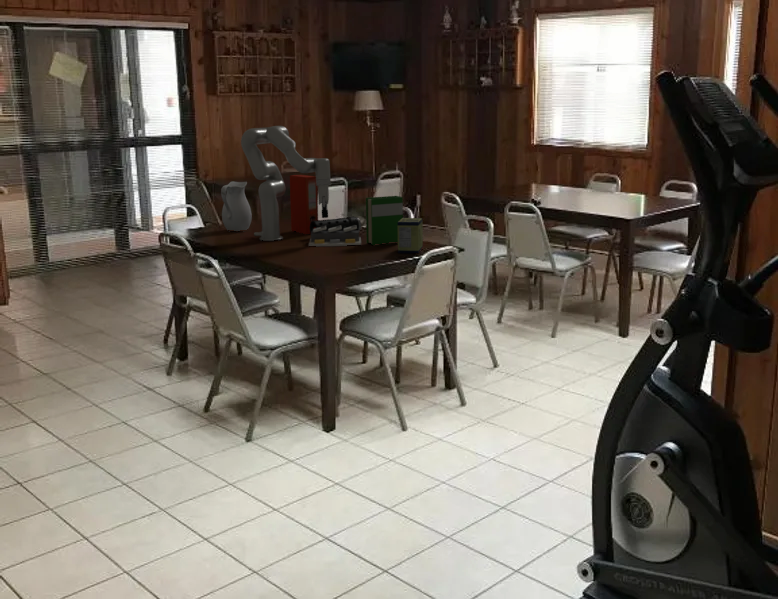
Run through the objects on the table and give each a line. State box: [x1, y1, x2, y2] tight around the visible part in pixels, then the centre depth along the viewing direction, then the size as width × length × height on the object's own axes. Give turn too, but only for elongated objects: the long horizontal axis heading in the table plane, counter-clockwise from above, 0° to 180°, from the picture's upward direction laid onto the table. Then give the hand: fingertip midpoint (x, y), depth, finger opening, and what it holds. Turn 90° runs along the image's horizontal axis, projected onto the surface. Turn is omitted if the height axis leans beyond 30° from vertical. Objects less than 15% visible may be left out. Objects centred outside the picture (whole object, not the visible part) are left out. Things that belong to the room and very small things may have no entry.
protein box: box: [397, 217, 424, 254], centre depth 419 cm, size 10×16×16 cm
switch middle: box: [328, 225, 342, 232], centre depth 445 cm, size 7×6×1 cm
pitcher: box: [220, 181, 253, 231], centre depth 485 cm, size 24×17×28 cm
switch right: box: [344, 225, 357, 232], centre depth 446 cm, size 7×6×1 cm
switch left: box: [313, 226, 326, 233], centre depth 445 cm, size 7×6×1 cm
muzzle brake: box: [310, 216, 362, 233], centre depth 465 cm, size 10×28×10 cm, turn 124°
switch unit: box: [308, 230, 362, 247], centre depth 445 cm, size 27×20×6 cm
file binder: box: [289, 174, 319, 235], centre depth 479 cm, size 8×17×32 cm, turn 36°
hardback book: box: [365, 195, 404, 246], centre depth 441 cm, size 18×7×24 cm, turn 116°
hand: (325, 217), depth 444 cm, fingers closed
